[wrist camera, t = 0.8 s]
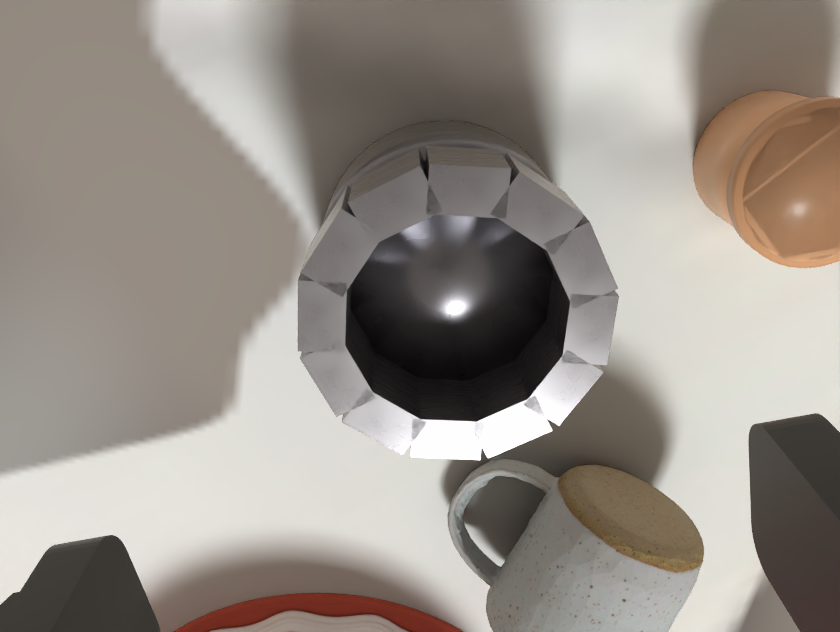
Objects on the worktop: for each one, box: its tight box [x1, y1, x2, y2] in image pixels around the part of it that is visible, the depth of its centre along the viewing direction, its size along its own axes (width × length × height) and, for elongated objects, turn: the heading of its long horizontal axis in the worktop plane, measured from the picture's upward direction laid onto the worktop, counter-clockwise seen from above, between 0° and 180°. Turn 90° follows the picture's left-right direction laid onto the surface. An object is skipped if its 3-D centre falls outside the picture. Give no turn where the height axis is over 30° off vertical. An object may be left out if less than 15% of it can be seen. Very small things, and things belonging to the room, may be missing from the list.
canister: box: [298, 121, 619, 460], centre depth 29 cm, size 10×10×9 cm
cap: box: [693, 90, 840, 268], centre depth 29 cm, size 6×6×5 cm
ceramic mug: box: [448, 459, 704, 632], centre depth 35 cm, size 11×8×8 cm
